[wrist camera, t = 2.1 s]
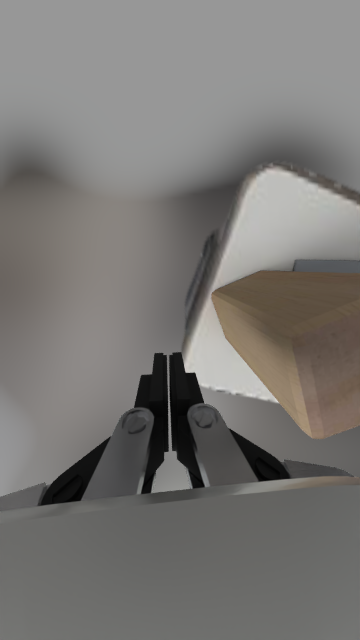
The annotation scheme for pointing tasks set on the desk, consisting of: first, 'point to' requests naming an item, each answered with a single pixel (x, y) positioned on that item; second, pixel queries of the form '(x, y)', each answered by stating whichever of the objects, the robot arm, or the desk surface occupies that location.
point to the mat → (327, 266)
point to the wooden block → (300, 342)
